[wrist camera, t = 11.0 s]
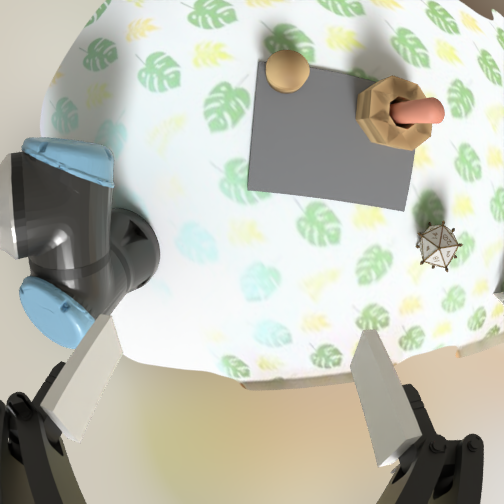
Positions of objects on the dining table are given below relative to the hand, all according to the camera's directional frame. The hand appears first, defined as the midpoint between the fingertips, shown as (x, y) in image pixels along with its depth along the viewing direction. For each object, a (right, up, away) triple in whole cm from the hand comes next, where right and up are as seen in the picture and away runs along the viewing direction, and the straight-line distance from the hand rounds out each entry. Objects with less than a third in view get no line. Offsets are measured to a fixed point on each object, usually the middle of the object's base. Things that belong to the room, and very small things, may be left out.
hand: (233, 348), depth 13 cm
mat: (+14, +22, +24) cm, 35 cm away
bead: (+21, +26, +21) cm, 40 cm away
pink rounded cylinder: (+21, +26, +21) cm, 40 cm away
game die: (+33, +8, +29) cm, 45 cm away
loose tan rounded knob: (+6, +30, +20) cm, 37 cm away
